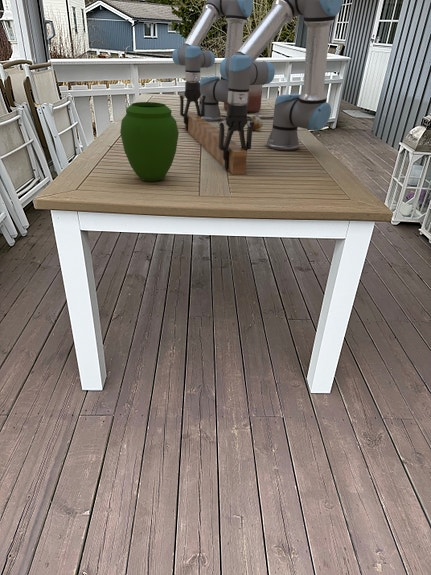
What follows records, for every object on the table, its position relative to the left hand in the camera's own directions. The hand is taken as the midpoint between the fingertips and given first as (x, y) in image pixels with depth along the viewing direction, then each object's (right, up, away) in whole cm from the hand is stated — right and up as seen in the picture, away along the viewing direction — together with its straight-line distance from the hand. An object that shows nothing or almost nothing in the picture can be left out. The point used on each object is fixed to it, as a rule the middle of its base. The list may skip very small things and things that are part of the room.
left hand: (192, 130), depth 218 cm
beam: (+10, -19, -28) cm, 35 cm away
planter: (+31, +38, +65) cm, 81 cm away
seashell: (+34, +3, +9) cm, 35 cm away
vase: (-10, -45, -71) cm, 85 cm away
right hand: (+20, -37, -56) cm, 70 cm away
